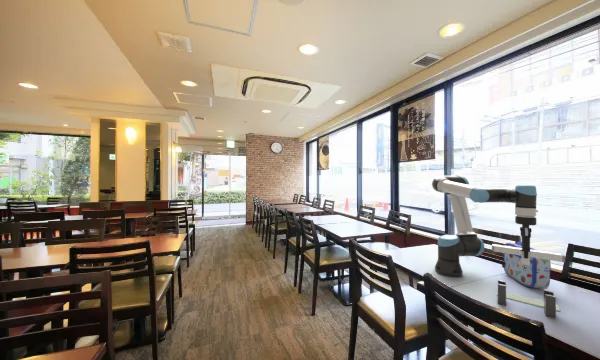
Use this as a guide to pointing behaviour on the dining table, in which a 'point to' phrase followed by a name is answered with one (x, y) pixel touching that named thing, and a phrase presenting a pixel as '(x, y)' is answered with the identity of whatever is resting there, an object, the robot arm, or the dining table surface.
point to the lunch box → (527, 269)
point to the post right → (549, 304)
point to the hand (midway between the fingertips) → (525, 263)
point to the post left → (502, 292)
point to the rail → (532, 253)
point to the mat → (527, 300)
